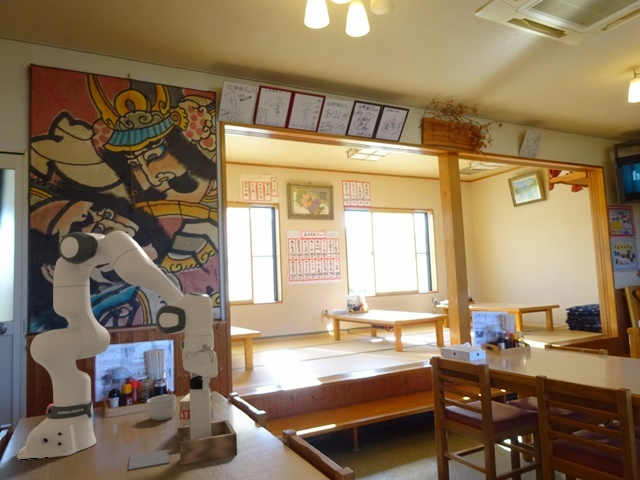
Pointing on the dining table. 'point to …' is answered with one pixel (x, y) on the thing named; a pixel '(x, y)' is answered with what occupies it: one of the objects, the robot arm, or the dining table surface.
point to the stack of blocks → (188, 410)
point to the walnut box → (207, 443)
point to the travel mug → (199, 410)
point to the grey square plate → (148, 460)
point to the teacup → (161, 407)
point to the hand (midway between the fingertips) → (200, 388)
